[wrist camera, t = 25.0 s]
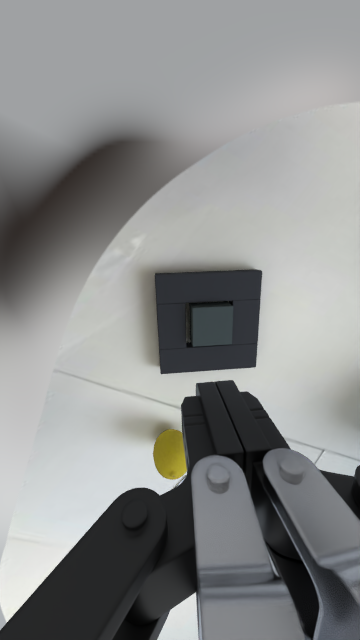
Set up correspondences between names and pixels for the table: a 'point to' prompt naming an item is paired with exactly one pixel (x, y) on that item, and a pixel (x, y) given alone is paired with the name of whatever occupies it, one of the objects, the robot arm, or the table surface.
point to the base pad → (207, 287)
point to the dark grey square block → (211, 323)
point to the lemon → (170, 454)
